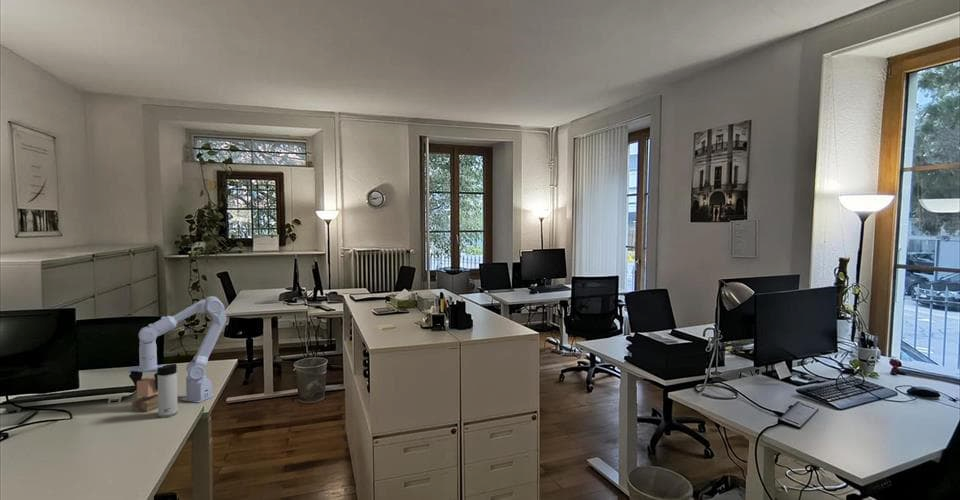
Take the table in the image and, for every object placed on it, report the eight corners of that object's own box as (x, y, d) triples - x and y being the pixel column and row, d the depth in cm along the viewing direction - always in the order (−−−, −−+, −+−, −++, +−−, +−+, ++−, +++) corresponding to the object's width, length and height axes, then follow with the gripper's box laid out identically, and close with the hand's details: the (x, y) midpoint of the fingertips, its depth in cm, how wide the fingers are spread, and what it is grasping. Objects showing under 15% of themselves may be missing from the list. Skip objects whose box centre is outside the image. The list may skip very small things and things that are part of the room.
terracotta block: (160, 392, 185) (160, 377, 185) (148, 397, 180) (147, 382, 180) (149, 390, 187) (149, 376, 186) (137, 395, 181) (136, 381, 181)
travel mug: (168, 418, 173) (167, 368, 172) (154, 417, 174) (153, 366, 173) (182, 412, 179) (181, 363, 178) (168, 410, 181) (167, 361, 179)
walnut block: (166, 405, 186) (165, 395, 186) (147, 412, 179) (146, 403, 179) (151, 402, 189) (151, 393, 188) (132, 410, 181) (131, 400, 181)
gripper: (172, 353, 187) (173, 385, 188) (135, 354, 186) (135, 386, 186) (163, 358, 180) (163, 391, 181) (123, 359, 179) (124, 392, 179)
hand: (148, 389), depth 183 cm, fingers closed on terracotta block, 7 cm apart
